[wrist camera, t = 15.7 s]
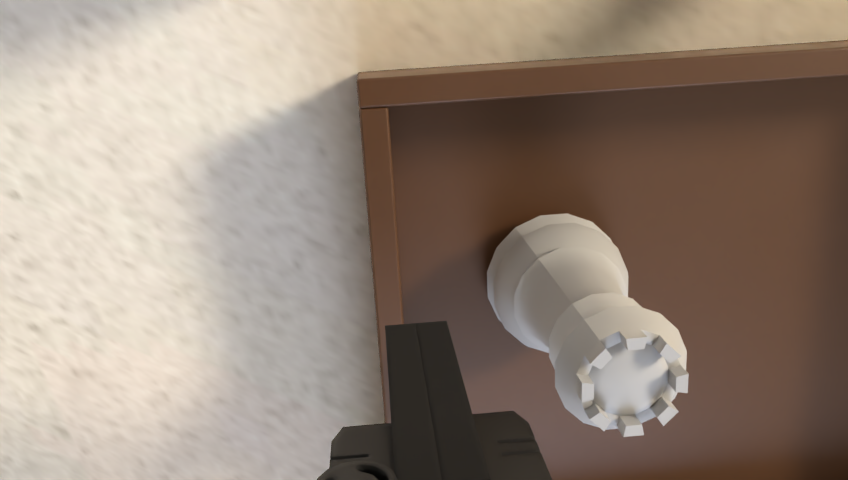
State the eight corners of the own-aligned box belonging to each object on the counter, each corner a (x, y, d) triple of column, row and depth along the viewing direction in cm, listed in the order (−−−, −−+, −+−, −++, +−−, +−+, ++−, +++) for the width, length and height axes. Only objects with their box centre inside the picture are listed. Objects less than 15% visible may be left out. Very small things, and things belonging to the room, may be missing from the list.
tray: (357, 72, 23) (356, 79, 20) (963, 32, 24) (1048, 33, 21) (397, 550, 28) (400, 613, 25) (897, 499, 29) (958, 554, 26)
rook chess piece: (457, 264, 24) (499, 374, 16) (568, 181, 24) (667, 256, 16) (533, 361, 25) (606, 507, 18) (641, 285, 25) (765, 400, 17)
